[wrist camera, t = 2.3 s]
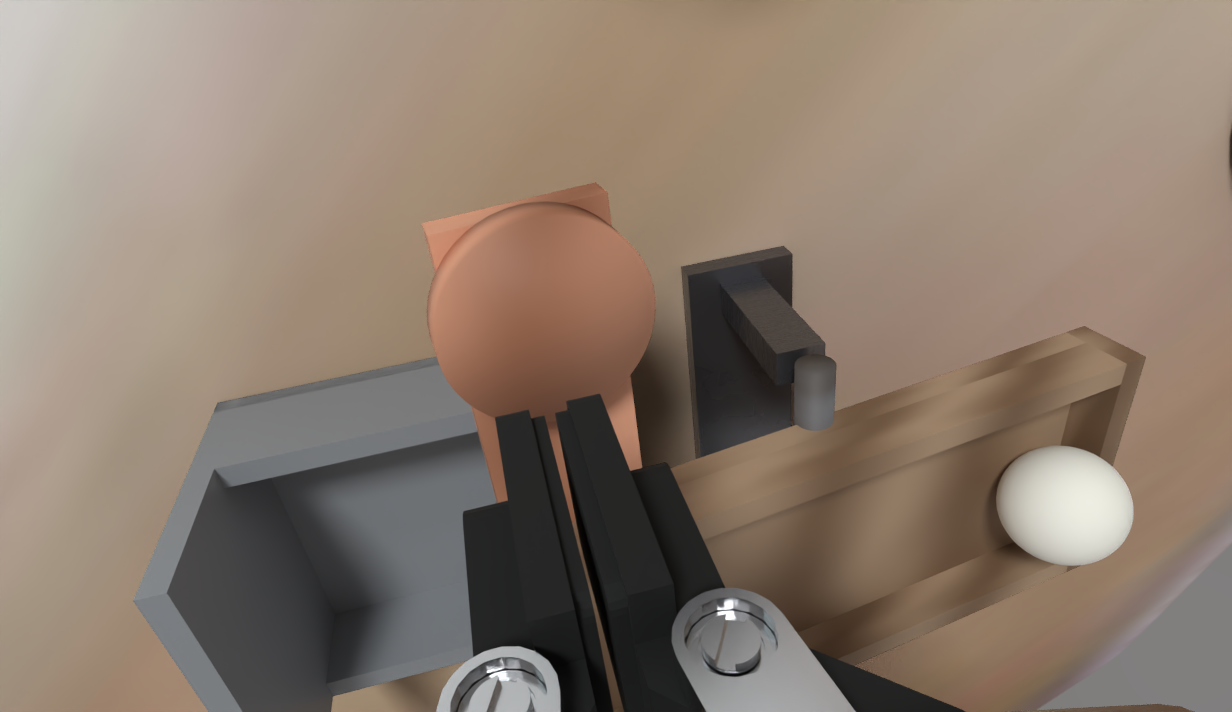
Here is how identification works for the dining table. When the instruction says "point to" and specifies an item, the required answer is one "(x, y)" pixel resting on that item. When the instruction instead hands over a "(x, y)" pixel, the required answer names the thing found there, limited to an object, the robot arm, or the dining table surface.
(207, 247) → the dining table surface
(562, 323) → the brown flat piece
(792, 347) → the pivot stand
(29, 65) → the dining table surface
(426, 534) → the cup
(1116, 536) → the ball
